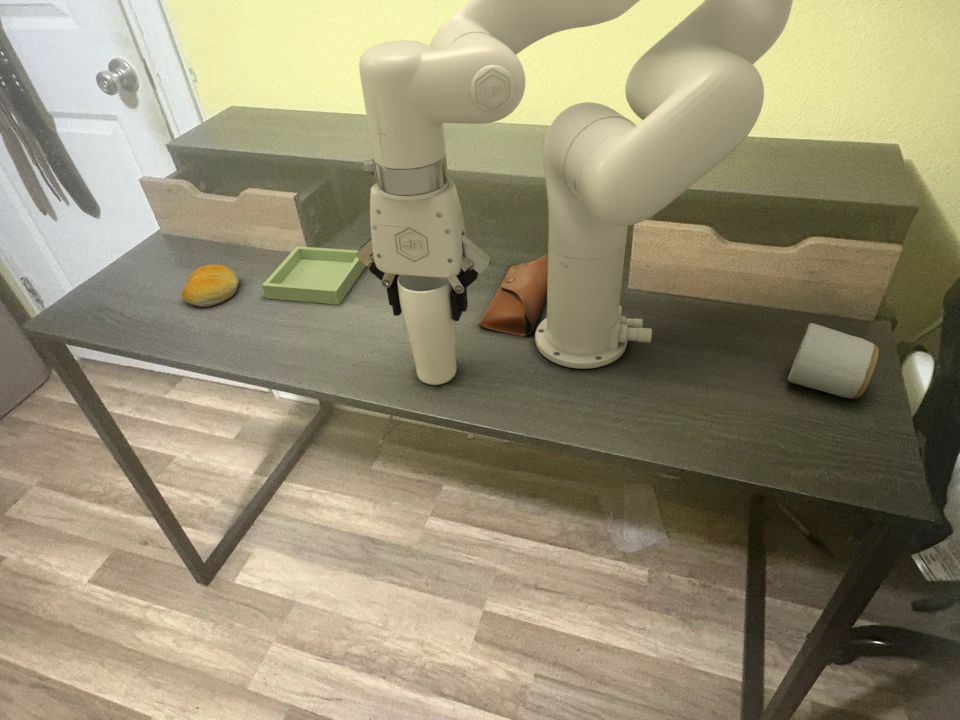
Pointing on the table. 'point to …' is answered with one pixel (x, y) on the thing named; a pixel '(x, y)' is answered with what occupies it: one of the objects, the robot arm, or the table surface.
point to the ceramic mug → (834, 362)
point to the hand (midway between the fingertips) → (429, 311)
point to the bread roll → (210, 285)
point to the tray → (314, 275)
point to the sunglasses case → (518, 299)
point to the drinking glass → (429, 326)
